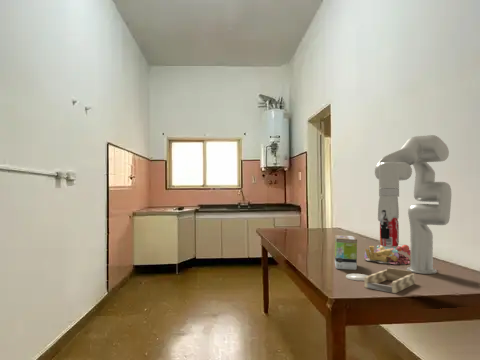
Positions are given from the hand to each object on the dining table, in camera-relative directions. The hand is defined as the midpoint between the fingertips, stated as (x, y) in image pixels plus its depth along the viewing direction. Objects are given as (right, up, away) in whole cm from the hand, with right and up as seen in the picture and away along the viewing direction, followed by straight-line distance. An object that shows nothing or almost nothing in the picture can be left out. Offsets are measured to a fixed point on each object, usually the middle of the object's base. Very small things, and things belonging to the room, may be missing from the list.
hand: (389, 237), depth 153 cm
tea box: (-7, -20, +37) cm, 43 cm away
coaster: (-9, -19, +13) cm, 25 cm away
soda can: (0, -4, 0) cm, 4 cm away
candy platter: (+20, -21, +54) cm, 62 cm away
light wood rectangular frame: (0, -19, 0) cm, 19 cm away
